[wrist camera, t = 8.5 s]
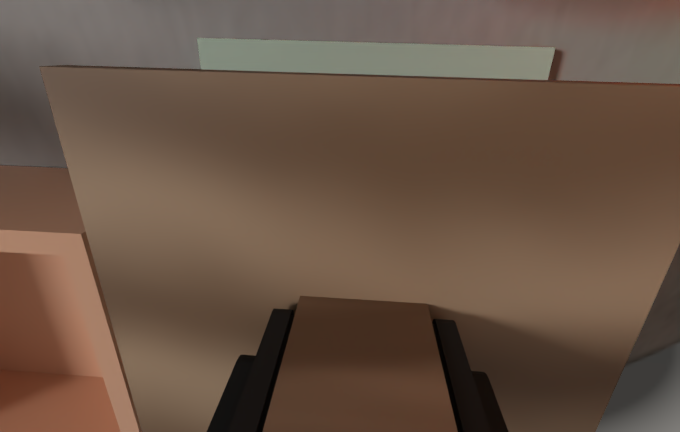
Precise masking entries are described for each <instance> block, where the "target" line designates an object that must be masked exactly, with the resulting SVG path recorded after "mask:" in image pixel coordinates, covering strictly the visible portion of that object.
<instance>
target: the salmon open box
mask: <svg viewBox="0 0 680 432" xmlns="http://www.w3.org/2000/svg"><path fill="white" fill-rule="evenodd" d="M0 432H142V430H141V426H140V423H139V419H138V416H137V412H136V409H135V405H134V402H133V398H132V394H131V391H130V387H129V384H128V380H127V377H126V373H125V370H124V366H123V362H122V359H121V355H120V352H119V348H118V345H117V341H116V338H115V334H114V330H113V327H112V323H111V320H110V316H109V313H108V309H107V306H106V302H105V298H104V295H103V291H102V288H101V284H100V281H99V277H98V274H97V270H96V267H95V263H94V259H93V256H92V252H91V249H90V245H89V242H88V238H87V235H86V231H85V227H84V224H83V220H82V217H81V213H80V210H79V206H78V203H77V199H76V195H75V192H74V188H73V185H72V181H71V178H70V174H69V171H68V168H52V167H30V166H7V165H0Z"/></svg>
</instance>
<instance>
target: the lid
mask: <svg viewBox="0 0 680 432" xmlns="http://www.w3.org/2000/svg"><path fill="white" fill-rule="evenodd" d="M39 67H40V71H41V75H42V78H43V82H44V85H45V89H46V92H47V96H48V99H49V103H50V107H51V110H52V114H53V117H54V121H55V124H56V128H57V131H58V135H59V139H60V142H61V146H62V149H63V153H64V156H65V160H66V163H67V167H68V171H69V174H70V178H71V181H72V185H73V188H74V192H75V195H76V199H77V203H78V206H79V210H80V213H81V217H82V220H83V224H84V227H85V231H86V235H87V238H88V242H89V245H90V249H91V252H92V256H93V259H94V263H95V267H96V270H97V274H98V277H99V281H100V284H101V288H102V291H103V295H104V298H105V302H106V306H107V309H108V313H109V316H110V320H111V323H112V327H113V330H114V334H115V338H116V341H117V345H118V348H119V352H120V355H121V359H122V362H123V366H124V370H125V373H126V377H127V380H128V384H129V387H130V391H131V394H132V398H133V402H134V405H135V409H136V412H137V416H138V419H139V423H140V426H141V430H142V432H207V430H208V427H209V425H210V422H211V420H212V418H213V415H214V413H215V411H216V408H217V406H218V404H219V401H220V399H221V396H222V394H223V392H224V389H225V387H226V385H227V382H228V380H229V378H230V375H231V373H232V370H233V368H234V366H235V363H236V361H237V359H238V357H239V356H240V355H254V356H256V354H257V351H258V348H259V345H260V343H261V340H262V337H263V335H264V332H265V329H266V326H267V324H268V321H269V318H270V315H271V313H272V310H273V309H274V308H275V309H290V310H293V312H294V315H295V316H294V319H293V323H292V327H291V330H290V334H289V337H288V341H287V345H286V348H285V352H284V356H283V359H282V363H281V366H280V370H279V374H278V377H277V381H276V385H275V388H274V392H273V395H272V399H271V403H270V406H269V410H268V414H267V417H266V421H265V424H264V428H263V432H458V431H457V427H456V423H455V418H454V414H453V410H452V406H451V402H450V397H449V393H448V389H447V385H446V380H445V376H444V372H443V368H442V363H441V359H440V355H439V351H438V347H437V342H436V338H435V334H434V330H433V325H432V322H433V319H446V320H454V321H455V323H456V325H457V328H458V332H459V335H460V338H461V341H462V344H463V347H464V350H465V353H466V356H467V359H468V363H469V366H470V369H471V371H480V372H485V373H486V374H487V376H488V378H489V380H490V383H491V386H492V388H493V391H494V394H495V396H496V399H497V402H498V405H499V407H500V410H501V413H502V415H503V418H504V421H505V424H506V426H507V429H508V432H595V431H596V429H597V427H598V425H599V422H600V420H601V418H602V415H603V414H604V411H605V409H606V407H607V404H608V402H609V400H610V398H611V395H612V393H613V391H614V389H615V387H616V385H617V382H618V380H619V378H620V375H621V373H622V371H623V369H624V367H625V364H626V362H627V360H628V358H629V356H630V353H631V351H632V349H633V347H634V344H635V342H636V340H637V338H638V335H639V333H640V331H641V329H642V327H643V324H644V322H645V320H646V318H647V315H648V313H649V311H650V309H651V306H652V304H653V302H654V300H655V298H656V295H657V293H658V291H659V289H660V286H661V284H662V282H663V280H664V277H665V275H666V273H667V271H668V269H669V266H670V264H671V262H672V260H673V257H674V255H675V253H676V251H677V248H678V246H679V244H680V84H656V83H623V82H591V81H559V80H527V79H494V78H462V77H430V76H398V75H365V74H333V73H301V72H269V71H236V70H204V69H172V68H140V67H107V66H75V65H60V66H39Z"/></svg>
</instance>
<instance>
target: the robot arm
mask: <svg viewBox="0 0 680 432" xmlns="http://www.w3.org/2000/svg"><path fill="white" fill-rule="evenodd" d="M294 316H295V315H294V312H293V310H290V309H275V308H274V309H273V310H272V313H271V315H270V318H269V321H268V324H267V326H266V329H265V332H264V335H263V337H262V340H261V343H260V345H259V348H258V351H257V354H256V356H254V355H240V356H239V357H238V359H237V361H236V363H235V366H234V368H233V370H232V373H231V375H230V378H229V380H228V382H227V385H226V387H225V389H224V392H223V394H222V396H221V399H220V401H219V404H218V406H217V408H216V411H215V413H214V415H213V418H212V420H211V422H210V425H209V427H208V430H207V432H263V428H264V424H265V421H266V417H267V414H268V410H269V406H270V403H271V399H272V395H273V392H274V388H275V385H276V381H277V377H278V374H279V370H280V366H281V363H282V359H283V356H284V352H285V348H286V345H287V341H288V337H289V334H290V330H291V327H292V323H293V319H294ZM432 325H433V330H434V334H435V338H436V342H437V347H438V351H439V355H440V359H441V363H442V368H443V372H444V376H445V380H446V385H447V389H448V393H449V397H450V402H451V406H452V410H453V414H454V418H455V423H456V427H457V431H458V432H508V429H507V426H506V424H505V421H504V418H503V415H502V413H501V410H500V407H499V405H498V402H497V399H496V396H495V394H494V391H493V388H492V386H491V383H490V380H489V378H488V376H487V374H486V373H485V372H480V371H471V369H470V366H469V363H468V359H467V356H466V353H465V350H464V347H463V344H462V341H461V338H460V335H459V332H458V328H457V325H456V323H455V321H454V320H446V319H433V322H432Z"/></svg>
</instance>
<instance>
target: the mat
mask: <svg viewBox="0 0 680 432" xmlns="http://www.w3.org/2000/svg"><path fill="white" fill-rule="evenodd" d="M197 42H198V50H199V59H200V67H201V69H204V70H236V71H269V72H301V73H333V74H365V75H398V76H430V77H462V78H494V79H527V80H548V76H549V72H550V68H551V64H552V60H553V56H554V52H555V47H520V46H483V45H445V44H408V43H370V42H332V41H295V40H257V39H220V38H197Z"/></svg>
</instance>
